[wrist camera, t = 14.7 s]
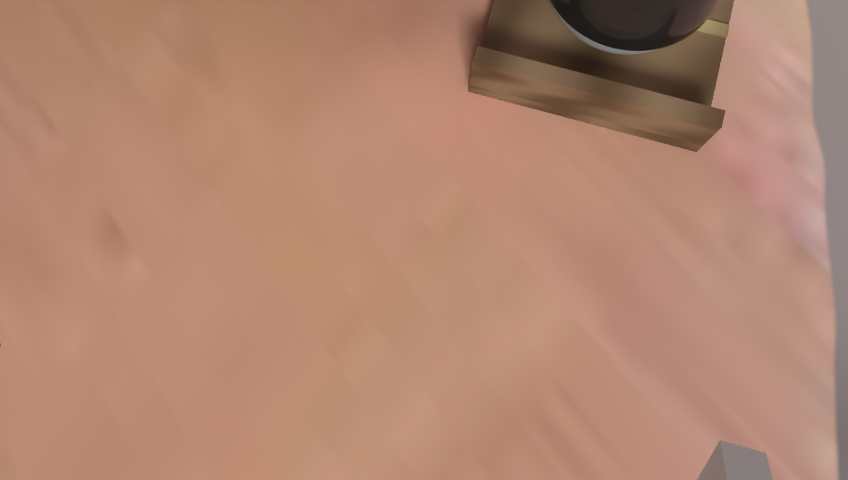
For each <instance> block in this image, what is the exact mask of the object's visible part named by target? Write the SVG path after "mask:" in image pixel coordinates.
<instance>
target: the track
mask: <svg viewBox="0 0 848 480" xmlns="http://www.w3.org/2000/svg"><path fill="white" fill-rule="evenodd" d="M733 2H734V0H720V2H719V4H718V5H717V7H716V9H715V10H714V12H713V13H712V14H711V16H710V17H709V18H708V20H707V21H706V22H705V23H704V24H703V25H702V26H701V27H700V28H699V29H698V30H697V31H695V32H694V33H693V34H691V35H690V36H689V37H687V38H685V39H684V40H682V41H680V42H678V43H675V44H673V45H670V46H667V47H664V48H660V49H657V50H654V51H651V52H646V53H641V54H629V55H626V54H615V53H609V52H605V51H602V50H599V49H596V48H594V47H592V46H590V45H588V44H586V43H584V42H583V41H581V40H580V39H579V38H577V37H576V36H575V35H574V34H572V33H571V32H570V31H569V30H568V29H567V28H566V26H565V25H564V24H563V23H562V21H561V20H560V18H559V17H558V15H557V13H556V12H555V10H554V8H553V5H552V3H551V2H550V0H494V2H493V6H492V9H491V13H490V16H489V19H488V23H487V26H486V30H485V33H484V36H483V40H482V43H481V47H480V46H477V48H476V52H475V55H474V58H473V62H472V69H471V77H470V84H469V92H473V93H476V94H480V95H484V96H488V97H492V98H495V99H499V100H503V101H507V102H510V103H514V104H518V105H522V106H526V107H529V108H533V109H537V110H541V111H544V112H548V113H552V114H556V115H560V116H563V117H567V118H571V119H575V120H578V121H582V122H586V123H590V124H594V125H597V126H601V127H605V128H609V129H612V130H616V131H620V132H624V133H628V134H631V135H635V136H639V137H643V138H646V139H650V140H654V141H658V142H662V143H665V144H669V145H673V146H677V147H681V148H684V149H688V150H692V151H696V152H697V151H698V150H699V149H700V148H701V147H702V146H703V145H704V144H705V143H706V142H707V141H708V140H709V139H710V138H711V137H712V136H713V135H714V134H715V133H716V132H717V131H718V130H719V129H720V128H721V127H722V123H723V118H724V114H725V110H722V109H718V108H714V107H711V104H712V99H713V95H714V90H715V85H716V81H717V76H718V72H719V67H720V62H721V58H722V53H723V48H724V44H725V39H726V37H727V34H728V30H729V21H730V16H731V12H732V7H733Z"/></svg>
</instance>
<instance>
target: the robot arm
mask: <svg viewBox="0 0 848 480" xmlns="http://www.w3.org/2000/svg"><path fill="white" fill-rule="evenodd" d="M0 346H1V345H0ZM697 480H772V476H771V472H770V468H769V464H768V460H767V456H766V453H763V452H759V451H756V450H752V449H749V448H746V447H742V446H739V445H735V444H732V443H728V442H725V441H721V440H720V441H719V443H718V445H717V446H716V448H715V450H714V452H713V453H712V455H711V457H710V458H709V460H708V462H707V464H706V465H705V467H704V469H703V470H702V472H701V474H700V476H699V477H698V479H697Z"/></svg>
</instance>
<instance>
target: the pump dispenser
mask: <svg viewBox="0 0 848 480" xmlns="http://www.w3.org/2000/svg"><path fill="white" fill-rule="evenodd" d="M550 2H551V3H552V5H553V8H554V10H555V12H556V13H557V15H558V17H559V18H560V20H561V21H562V23H563V24H564V25H565V26H566V28H567V29H568V30H569V31H570V32H571V33H572V34H574V35H575V36H576V37H577V38H579V39H580V40H581V41H583V42H584V43H586V44H588V45H590V46H592V47H594V48H596V49H599V50H602V51H605V52H609V53H615V54H626V55H629V54H641V53H646V52H651V51H654V50H657V49H660V48H664V47H667V46H670V45H673V44H675V43H678V42H680V41H682V40H684V39H685V38H687V37H689V36H690V35H691V34H693V33H694V32H695V31H697V30H698V29H699V28H700V27H701V26H702V25H703V24H704V23H705V22H706V21H707V20H708V18H709V17H710V16H711V14H712V13H713V12H714V10H715V9H716V7H717V5H718V4H719V2H720V0H550Z"/></svg>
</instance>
